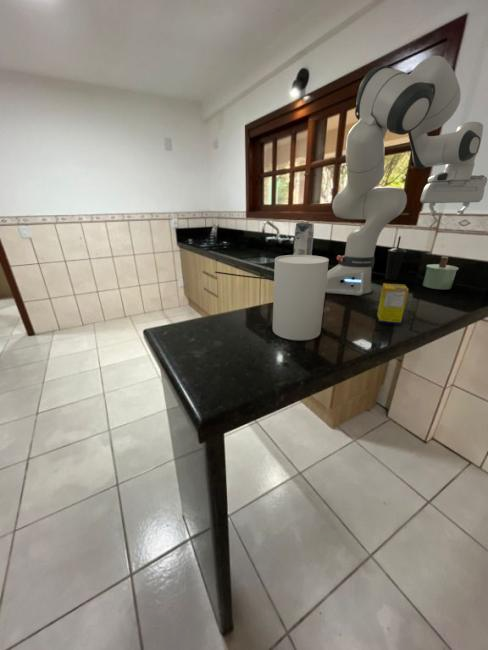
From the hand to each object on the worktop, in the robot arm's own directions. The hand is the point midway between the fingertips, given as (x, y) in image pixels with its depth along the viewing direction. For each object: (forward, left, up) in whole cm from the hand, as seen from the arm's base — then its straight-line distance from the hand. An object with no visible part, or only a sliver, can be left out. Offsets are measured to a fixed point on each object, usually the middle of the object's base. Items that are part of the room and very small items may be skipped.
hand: (445, 215), depth 105 cm
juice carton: (-54, +23, -29) cm, 66 cm away
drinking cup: (-11, +12, -29) cm, 33 cm away
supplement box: (-30, -45, -29) cm, 62 cm away
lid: (+3, -2, -20) cm, 21 cm away
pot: (+3, -2, -29) cm, 29 cm away
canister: (-58, -56, -29) cm, 86 cm away
